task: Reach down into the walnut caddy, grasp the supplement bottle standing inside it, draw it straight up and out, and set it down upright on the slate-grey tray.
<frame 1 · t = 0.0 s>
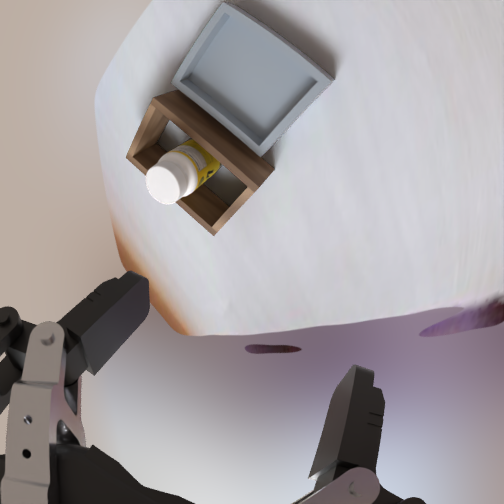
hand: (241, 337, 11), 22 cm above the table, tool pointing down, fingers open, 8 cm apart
supplement bottle: (206, 153, 33), resting in caddy
caddy: (205, 153, 33), on the table
tray: (252, 75, 26), on the table
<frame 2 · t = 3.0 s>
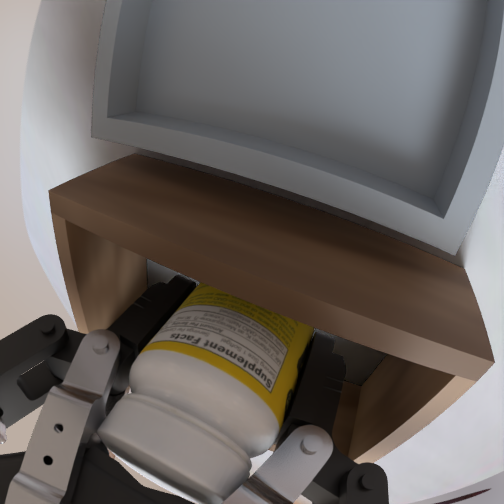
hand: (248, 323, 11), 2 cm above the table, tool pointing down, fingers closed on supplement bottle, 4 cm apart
supplement bottle: (267, 291, 13), resting in caddy, touching gripper
caddy: (265, 294, 13), on the table
tray: (304, 16, 7), on the table
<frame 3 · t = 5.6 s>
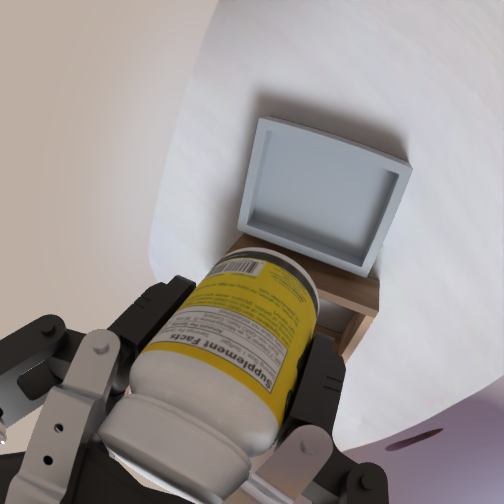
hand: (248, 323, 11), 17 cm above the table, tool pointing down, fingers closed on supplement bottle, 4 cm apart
supplement bottle: (267, 291, 13), point 15 cm above the table, touching gripper
caddy: (300, 290, 31), on the table
tray: (322, 191, 25), on the table
when the fingers open (4 cm above the table, at t = 8.5 s): supplement bottle drops 1 cm, resting on tray.
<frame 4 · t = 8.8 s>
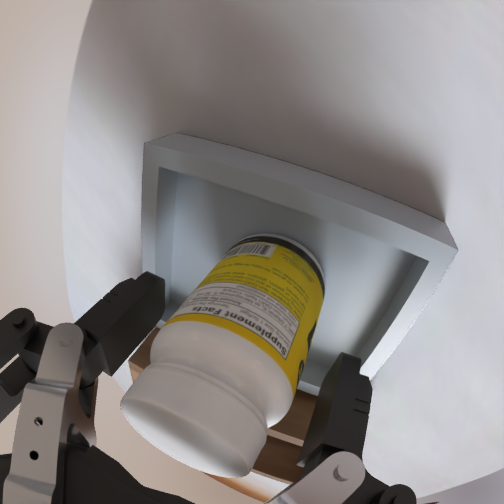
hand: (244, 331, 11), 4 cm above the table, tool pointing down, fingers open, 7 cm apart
supplement bottle: (276, 276, 14), point 1 cm above the table, touching tray
caddy: (254, 390, 20), on the table
tray: (278, 269, 14), on the table
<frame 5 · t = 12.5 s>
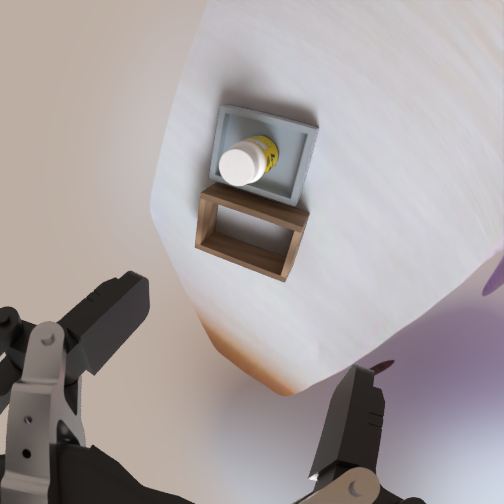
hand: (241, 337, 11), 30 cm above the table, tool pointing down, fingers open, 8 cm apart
supplement bottle: (263, 152, 37), point 1 cm above the table, touching tray
caddy: (255, 224, 43), on the table
tray: (263, 151, 38), on the table
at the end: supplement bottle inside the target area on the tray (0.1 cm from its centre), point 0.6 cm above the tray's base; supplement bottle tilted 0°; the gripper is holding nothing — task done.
